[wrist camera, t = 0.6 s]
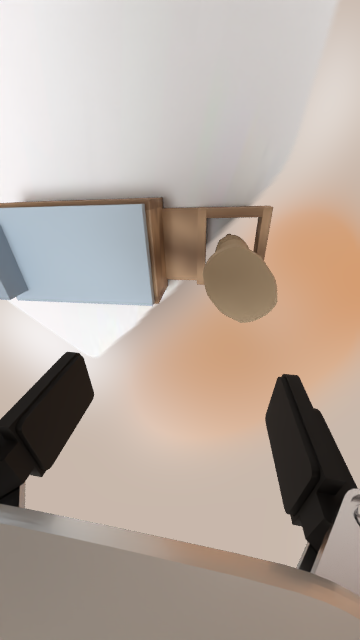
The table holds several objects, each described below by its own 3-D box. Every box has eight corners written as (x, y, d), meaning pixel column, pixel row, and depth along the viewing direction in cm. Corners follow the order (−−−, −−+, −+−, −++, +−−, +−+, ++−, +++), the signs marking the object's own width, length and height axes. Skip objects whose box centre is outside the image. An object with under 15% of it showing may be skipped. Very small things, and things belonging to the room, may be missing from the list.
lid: (-17, 208, 24) (-55, 211, 21) (144, 203, 22) (131, 206, 18) (23, 297, 30) (-1, 310, 27) (154, 302, 27) (145, 317, 24)
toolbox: (24, 201, 30) (-19, 204, 24) (270, 193, 25) (285, 194, 20) (53, 282, 36) (24, 298, 31) (255, 287, 32) (263, 307, 26)
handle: (227, 274, 31) (235, 331, 18) (201, 238, 29) (190, 274, 16) (257, 253, 29) (290, 302, 16) (231, 213, 27) (245, 232, 14)
